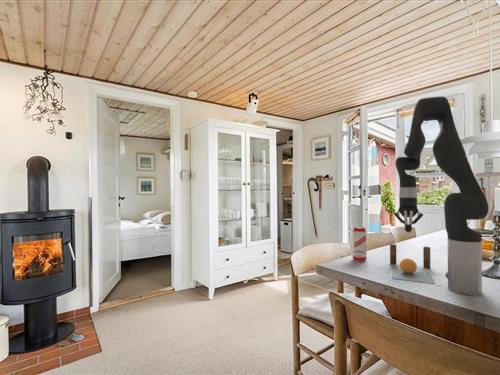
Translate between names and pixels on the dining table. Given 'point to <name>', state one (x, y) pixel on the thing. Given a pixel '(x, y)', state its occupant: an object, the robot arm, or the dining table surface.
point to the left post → (393, 254)
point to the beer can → (359, 244)
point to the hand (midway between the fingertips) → (408, 232)
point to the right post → (426, 257)
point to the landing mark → (413, 276)
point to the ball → (408, 266)
